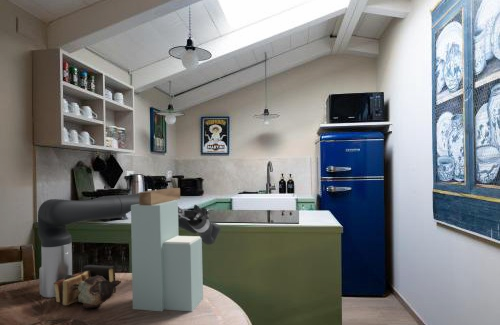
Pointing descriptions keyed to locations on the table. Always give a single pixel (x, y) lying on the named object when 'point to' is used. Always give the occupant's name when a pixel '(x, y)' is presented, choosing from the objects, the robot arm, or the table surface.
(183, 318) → the table surface
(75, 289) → the bookend
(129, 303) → the table surface
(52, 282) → the robot arm
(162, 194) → the walnut bar
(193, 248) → the stand
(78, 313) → the table surface
